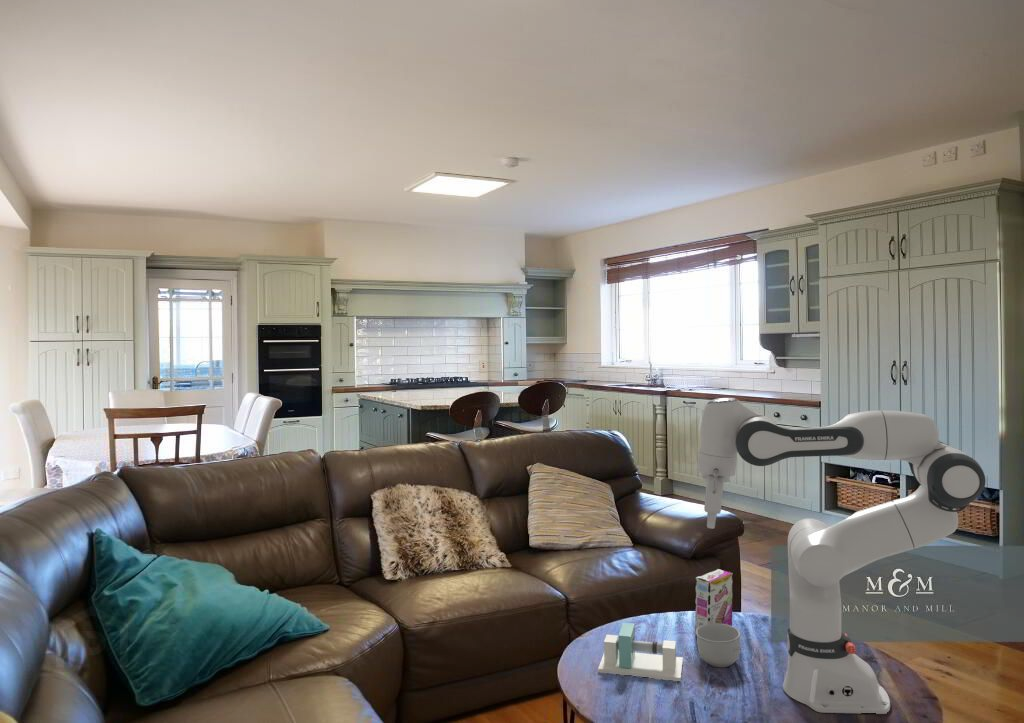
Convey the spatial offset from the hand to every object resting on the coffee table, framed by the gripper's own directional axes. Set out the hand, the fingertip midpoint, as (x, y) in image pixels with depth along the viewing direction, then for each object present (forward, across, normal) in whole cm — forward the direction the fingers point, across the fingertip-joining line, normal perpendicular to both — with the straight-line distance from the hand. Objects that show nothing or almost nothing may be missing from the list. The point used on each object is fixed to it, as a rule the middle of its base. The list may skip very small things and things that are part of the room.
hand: (711, 522), depth 173 cm
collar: (+39, +3, +17) cm, 43 cm away
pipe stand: (+40, +3, +13) cm, 43 cm away
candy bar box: (+39, +28, -4) cm, 48 cm away
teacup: (+39, +12, -5) cm, 41 cm away
